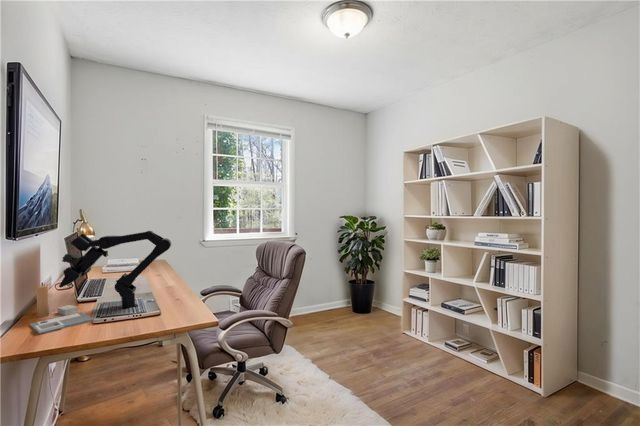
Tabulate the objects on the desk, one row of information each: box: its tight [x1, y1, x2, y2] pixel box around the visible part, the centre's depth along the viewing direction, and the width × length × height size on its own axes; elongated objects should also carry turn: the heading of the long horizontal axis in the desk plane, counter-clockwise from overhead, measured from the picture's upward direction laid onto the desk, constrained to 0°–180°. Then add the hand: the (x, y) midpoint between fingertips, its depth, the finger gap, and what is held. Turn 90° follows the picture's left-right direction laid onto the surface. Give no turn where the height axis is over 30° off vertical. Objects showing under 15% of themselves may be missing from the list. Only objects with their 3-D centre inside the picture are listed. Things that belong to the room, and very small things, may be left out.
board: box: [30, 311, 94, 335], centre depth 140 cm, size 16×18×2 cm
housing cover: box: [57, 304, 79, 316], centre depth 155 cm, size 7×5×2 cm
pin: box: [35, 285, 50, 318], centre depth 151 cm, size 4×4×13 cm
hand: (63, 284), depth 154 cm, fingers open, 9 cm apart
